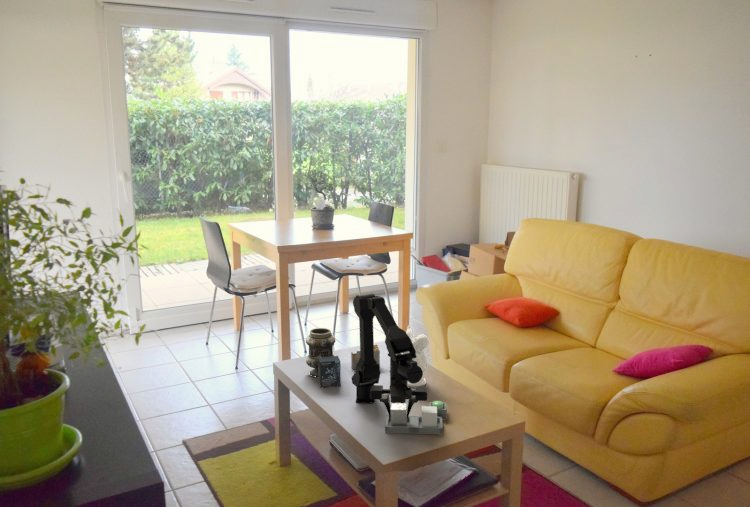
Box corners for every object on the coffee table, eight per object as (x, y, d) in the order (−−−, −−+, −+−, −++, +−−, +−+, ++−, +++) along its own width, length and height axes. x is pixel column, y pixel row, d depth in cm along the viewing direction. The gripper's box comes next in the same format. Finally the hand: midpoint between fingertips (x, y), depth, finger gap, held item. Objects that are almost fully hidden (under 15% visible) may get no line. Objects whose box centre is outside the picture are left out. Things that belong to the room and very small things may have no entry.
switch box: (429, 419, 223) (429, 409, 222) (428, 411, 229) (429, 402, 228) (446, 419, 223) (446, 409, 222) (446, 411, 229) (446, 402, 228)
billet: (391, 426, 215) (390, 409, 214) (391, 420, 220) (391, 403, 219) (406, 427, 215) (405, 409, 213) (406, 420, 220) (406, 403, 218)
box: (320, 388, 249) (320, 362, 247) (318, 382, 255) (317, 356, 253) (341, 386, 251) (340, 360, 249) (338, 380, 256) (338, 355, 254)
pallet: (385, 432, 214) (385, 414, 212) (386, 420, 222) (386, 402, 221) (442, 434, 212) (442, 415, 211) (441, 422, 221) (442, 404, 219)
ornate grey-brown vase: (339, 369, 268) (338, 326, 265) (331, 380, 257) (330, 336, 253) (311, 366, 271) (310, 325, 267) (302, 378, 259) (300, 334, 256)
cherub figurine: (431, 386, 251) (433, 331, 246) (403, 392, 246) (404, 336, 241) (416, 374, 262) (417, 322, 257) (388, 380, 256) (388, 326, 252)
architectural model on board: (377, 365, 273) (377, 343, 271) (379, 368, 270) (379, 345, 268) (351, 369, 270) (350, 346, 268) (353, 371, 267) (353, 349, 265)
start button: (432, 416, 224) (432, 405, 223) (432, 411, 228) (432, 400, 227) (443, 416, 224) (443, 405, 223) (443, 411, 227) (443, 401, 227)
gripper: (368, 381, 207) (368, 427, 210) (427, 383, 205) (427, 429, 208) (371, 368, 217) (371, 412, 221) (427, 369, 216) (427, 413, 219)
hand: (398, 417), depth 217 cm, fingers open, 5 cm apart
